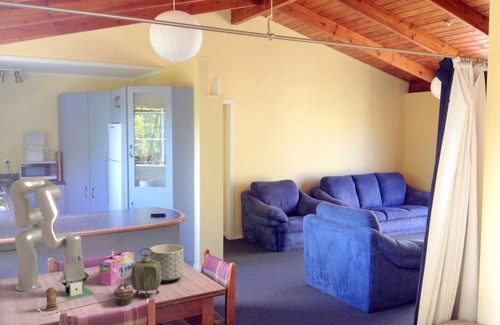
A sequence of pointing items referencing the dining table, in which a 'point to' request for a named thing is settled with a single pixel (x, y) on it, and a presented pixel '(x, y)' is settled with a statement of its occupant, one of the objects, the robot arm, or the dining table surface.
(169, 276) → the planter
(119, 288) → the cupcake
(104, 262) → the gum box
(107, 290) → the dining table surface
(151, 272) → the tabletop clock
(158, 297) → the dining table surface
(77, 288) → the die
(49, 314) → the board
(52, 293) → the pawn
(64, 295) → the dice mat
